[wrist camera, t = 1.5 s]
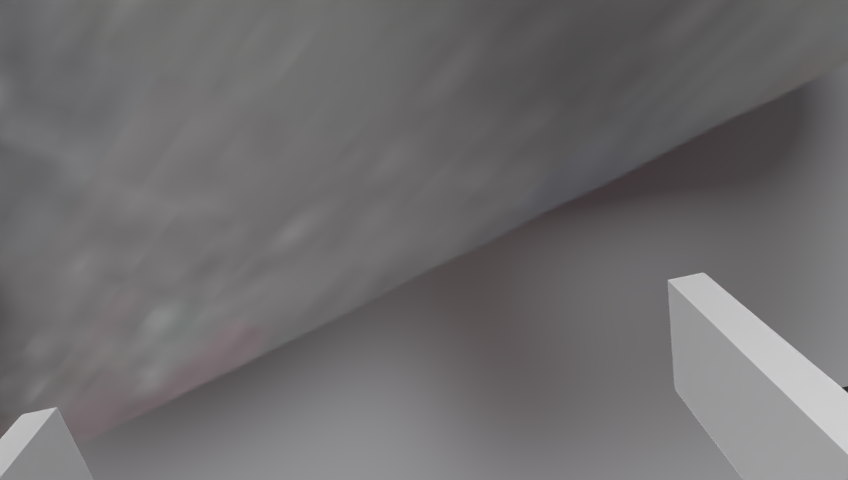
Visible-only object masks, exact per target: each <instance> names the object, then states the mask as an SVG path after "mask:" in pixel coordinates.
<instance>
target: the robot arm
mask: <svg viewBox="0 0 848 480" xmlns="http://www.w3.org/2000/svg"><path fill="white" fill-rule="evenodd" d="M667 281H668V295H669V312H670V328H671V342H672V343H671V344H672V359H673V374H674V389H675V390H676V392H677V393H678V395H679V396H680V397H681V398H682V400H683V401H684V402H685V404H686V405H687V406H688V408H689V409H690V410H691V412H692V413H693V414H694V415H695V417H696V418H697V420H698V421H699V422H700V424H701V425H702V426H703V427H704V429H705V430H706V431H707V433H708V434H709V435H710V437H711V438H712V439H713V440H714V442H715V443H716V445H717V446H718V447H719V449H720V450H721V451H722V452H723V454H724V455H725V457H726V458H727V459H728V461H729V462H730V463H731V464H732V466H733V467H734V468H735V470H736V471H737V472H738V474H739V475H740V476H741V478H742V479H743V480H848V387H843V388H841V387H840V386H839V385H838V384H837V383H835V382H834V381H833V380H831V378H829V377H828V376H827V375H826V374H825V373H823V372H822V371H821V370H820V369H819V368H817V367H816V366H815V365H814V364H812V363H811V362H810V361H809V360H808V359H807V358H805V357H804V356H803V355H802V354H801V353H799V352H798V351H797V350H796V349H795V348H793V347H792V346H791V345H790V344H789V343H787V342H786V341H785V340H784V339H783V338H782V337H780V336H779V335H778V334H777V333H775V332H774V331H773V330H772V329H771V328H770V327H768V326H767V325H766V324H765V323H763V322H762V321H761V320H760V319H759V318H758V317H756V316H755V315H754V314H753V313H752V312H750V311H749V310H748V309H747V308H746V307H744V306H743V305H742V304H741V303H740V302H738V301H737V300H736V299H735V298H734V297H732V296H731V295H730V294H729V293H728V292H726V291H725V290H724V289H723V288H722V287H720V286H719V285H718V284H717V283H716V282H714V281H713V280H712V279H711V278H710V277H709V276H707V275H706V274H705V273H704V272H703V273H698V274H694V275H689V276H684V277H679V278H674V279H670V280H667ZM0 480H93V478H92V476H91V474H90V472H89V470H88V468H87V466H86V464H85V462H84V460H83V458H82V456H81V454H80V452H79V450H78V448H77V446H76V444H75V442H74V440H73V438H72V436H71V434H70V432H69V430H68V428H67V426H66V424H65V422H64V420H63V418H62V416H61V414H60V412H59V410H58V408H57V407H56V408H51V409H46V410H41V411H36V412H32V413H27V414H22V415H21V416H20V417H19V418H18V420H17V421H16V422H15V423H14V424H13V425H12V426H11V428H10V429H9V430H8V431H7V432H6V433H5V434H4V435H3V437H2V438H1V439H0Z"/></svg>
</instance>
